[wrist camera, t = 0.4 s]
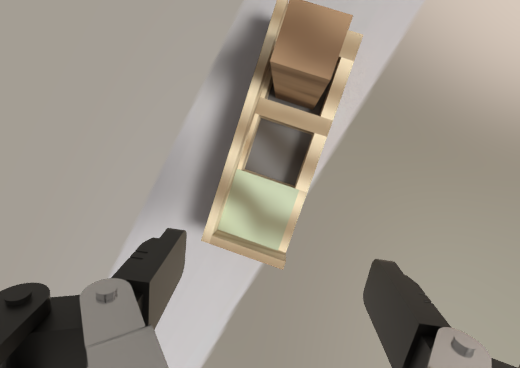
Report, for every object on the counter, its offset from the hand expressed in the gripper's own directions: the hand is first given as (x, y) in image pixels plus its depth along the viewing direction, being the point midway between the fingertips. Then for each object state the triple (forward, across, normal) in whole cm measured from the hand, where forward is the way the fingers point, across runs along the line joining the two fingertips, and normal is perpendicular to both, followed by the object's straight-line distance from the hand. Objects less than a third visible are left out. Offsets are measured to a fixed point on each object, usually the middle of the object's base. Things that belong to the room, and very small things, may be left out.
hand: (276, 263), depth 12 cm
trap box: (+27, -1, -1) cm, 27 cm away
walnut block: (+28, -2, -9) cm, 29 cm away
